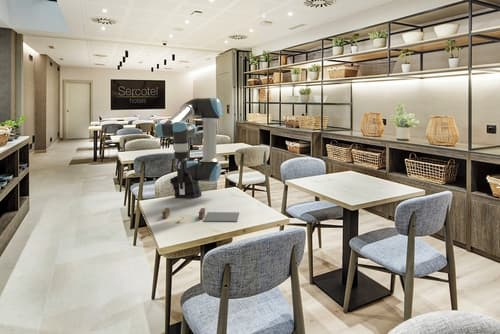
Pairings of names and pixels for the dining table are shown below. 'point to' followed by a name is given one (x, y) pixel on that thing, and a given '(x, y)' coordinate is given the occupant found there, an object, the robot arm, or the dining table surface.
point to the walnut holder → (167, 213)
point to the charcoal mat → (221, 217)
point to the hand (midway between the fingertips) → (183, 193)
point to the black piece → (188, 187)
